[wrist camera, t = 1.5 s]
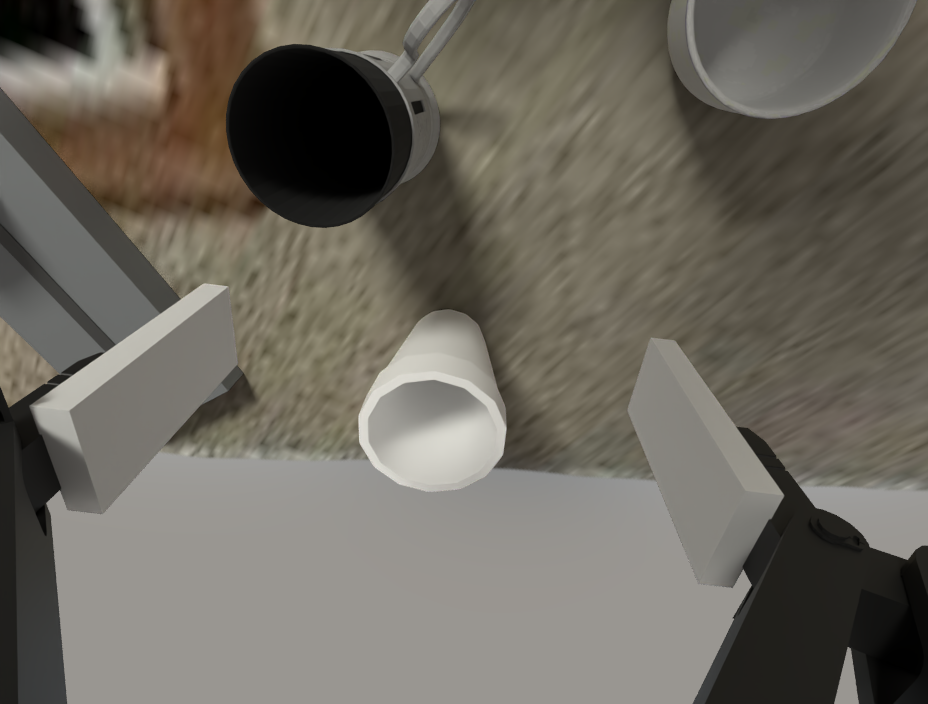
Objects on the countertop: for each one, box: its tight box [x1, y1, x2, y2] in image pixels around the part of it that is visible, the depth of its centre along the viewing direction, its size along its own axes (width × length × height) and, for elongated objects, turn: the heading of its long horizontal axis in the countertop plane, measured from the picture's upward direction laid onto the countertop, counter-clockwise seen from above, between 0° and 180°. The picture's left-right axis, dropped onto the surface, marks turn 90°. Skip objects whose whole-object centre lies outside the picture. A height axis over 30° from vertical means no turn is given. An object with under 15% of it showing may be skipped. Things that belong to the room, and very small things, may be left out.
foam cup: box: [359, 309, 507, 492], centre depth 38 cm, size 10×9×13 cm
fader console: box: [0, 88, 243, 405], centre depth 41 cm, size 28×12×3 cm, turn 29°
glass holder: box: [226, 0, 476, 228], centre depth 28 cm, size 9×14×15 cm, turn 133°
